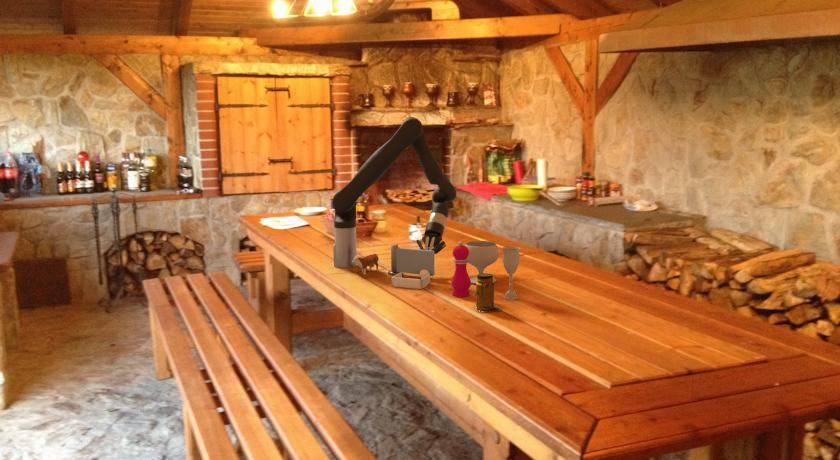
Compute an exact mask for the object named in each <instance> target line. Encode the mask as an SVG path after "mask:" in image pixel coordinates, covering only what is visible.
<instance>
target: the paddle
mask: <svg viewBox="0 0 840 460" xmlns="http://www.w3.org/2000/svg"><path fill="white" fill-rule="evenodd" d="M390 267H391V269H390V271H392V272H402V274H411V275H412V274H413V275H419V276H420V271H421V270H424V269H425V270H428V271H429V274H430V277H434V276H435V274H436V273H435V269H436V268H435V254H434V251H431V250H421V249H420V248H409V247H408V248H406V247H399V244H398V243H397V244H395V243H393V244H390Z"/></svg>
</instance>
